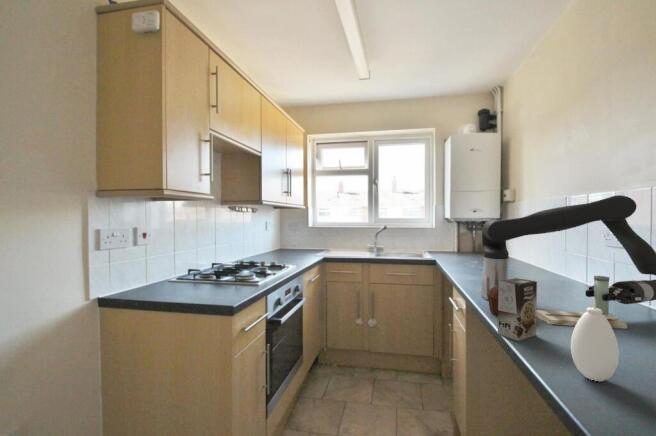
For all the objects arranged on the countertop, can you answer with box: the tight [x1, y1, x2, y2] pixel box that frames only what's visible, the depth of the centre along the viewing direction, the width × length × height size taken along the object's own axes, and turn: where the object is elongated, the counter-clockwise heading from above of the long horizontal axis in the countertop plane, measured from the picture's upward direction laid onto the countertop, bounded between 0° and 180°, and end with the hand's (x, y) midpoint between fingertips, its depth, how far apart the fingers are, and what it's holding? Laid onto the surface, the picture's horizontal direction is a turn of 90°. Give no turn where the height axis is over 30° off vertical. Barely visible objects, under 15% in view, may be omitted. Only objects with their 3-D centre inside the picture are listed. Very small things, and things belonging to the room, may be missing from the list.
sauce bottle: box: [570, 297, 620, 382], centre depth 66 cm, size 8×8×18 cm
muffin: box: [487, 285, 499, 317], centre depth 109 cm, size 12×11×10 cm
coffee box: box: [497, 277, 538, 342], centre depth 90 cm, size 9×6×16 cm
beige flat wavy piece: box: [536, 309, 628, 329], centre depth 102 cm, size 22×10×2 cm, turn 81°
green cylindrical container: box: [593, 275, 617, 319], centre depth 101 cm, size 5×6×13 cm
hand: (595, 295), depth 100 cm, fingers open, 4 cm apart
